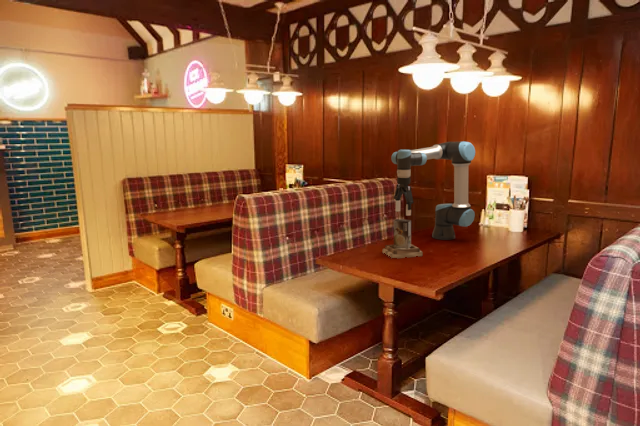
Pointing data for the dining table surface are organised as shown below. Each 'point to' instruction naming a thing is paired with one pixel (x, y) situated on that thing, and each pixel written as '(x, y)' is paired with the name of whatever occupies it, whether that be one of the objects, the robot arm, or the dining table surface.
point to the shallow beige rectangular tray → (402, 251)
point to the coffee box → (402, 233)
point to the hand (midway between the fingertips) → (403, 213)
